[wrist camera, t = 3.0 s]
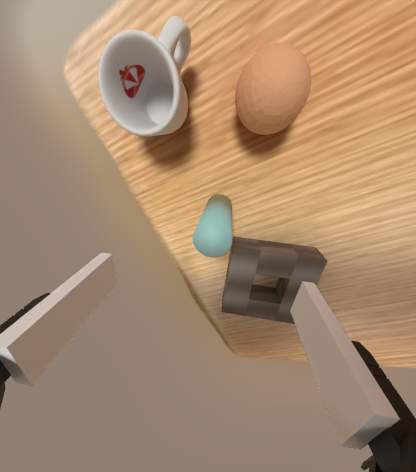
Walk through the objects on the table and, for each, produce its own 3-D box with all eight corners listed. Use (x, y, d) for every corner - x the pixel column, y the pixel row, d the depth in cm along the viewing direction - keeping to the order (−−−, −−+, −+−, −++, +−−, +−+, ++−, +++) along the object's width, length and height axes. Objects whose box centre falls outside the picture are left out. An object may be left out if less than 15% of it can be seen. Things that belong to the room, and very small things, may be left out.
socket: (233, 236, 31) (233, 247, 27) (316, 247, 30) (327, 260, 27) (222, 296, 37) (221, 312, 34) (291, 307, 36) (297, 324, 33)
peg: (208, 192, 28) (194, 219, 17) (233, 195, 28) (234, 224, 17) (206, 216, 30) (192, 254, 19) (229, 219, 30) (229, 259, 19)
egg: (249, 54, 21) (259, -1, 13) (307, 78, 21) (350, 38, 13) (226, 125, 24) (223, 114, 16) (276, 144, 24) (297, 142, 17)
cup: (166, 22, 20) (131, -47, 13) (220, 74, 22) (215, 37, 15) (127, 113, 25) (85, 99, 18) (174, 152, 26) (153, 153, 19)
